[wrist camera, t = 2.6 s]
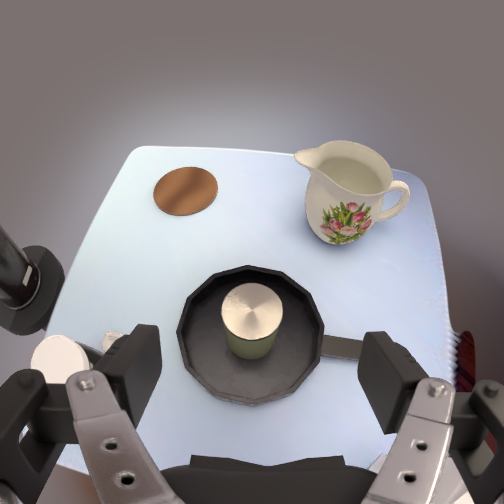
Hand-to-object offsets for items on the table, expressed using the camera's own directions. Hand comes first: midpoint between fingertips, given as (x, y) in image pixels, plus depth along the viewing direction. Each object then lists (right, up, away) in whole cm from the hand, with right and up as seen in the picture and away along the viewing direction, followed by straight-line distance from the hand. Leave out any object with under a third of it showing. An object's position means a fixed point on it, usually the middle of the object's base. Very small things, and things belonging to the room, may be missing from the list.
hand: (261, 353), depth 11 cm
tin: (-1, -7, +27) cm, 28 cm away
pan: (+4, -8, +27) cm, 28 cm away
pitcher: (+13, +8, +37) cm, 40 cm away
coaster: (-12, +14, +40) cm, 44 cm away
